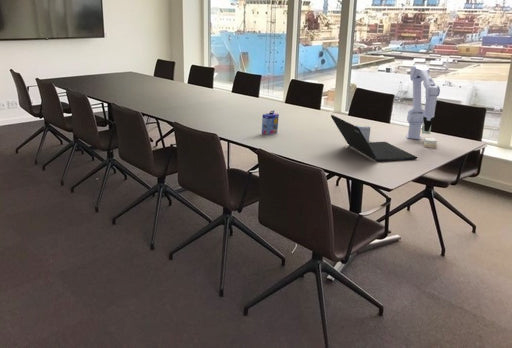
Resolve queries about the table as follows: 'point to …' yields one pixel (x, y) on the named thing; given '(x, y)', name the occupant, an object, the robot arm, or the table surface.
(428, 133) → the cube
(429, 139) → the top slab
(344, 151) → the table surface
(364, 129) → the medicine box
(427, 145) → the bottom slab
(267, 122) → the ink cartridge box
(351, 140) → the laptop
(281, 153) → the table surface
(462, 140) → the table surface
